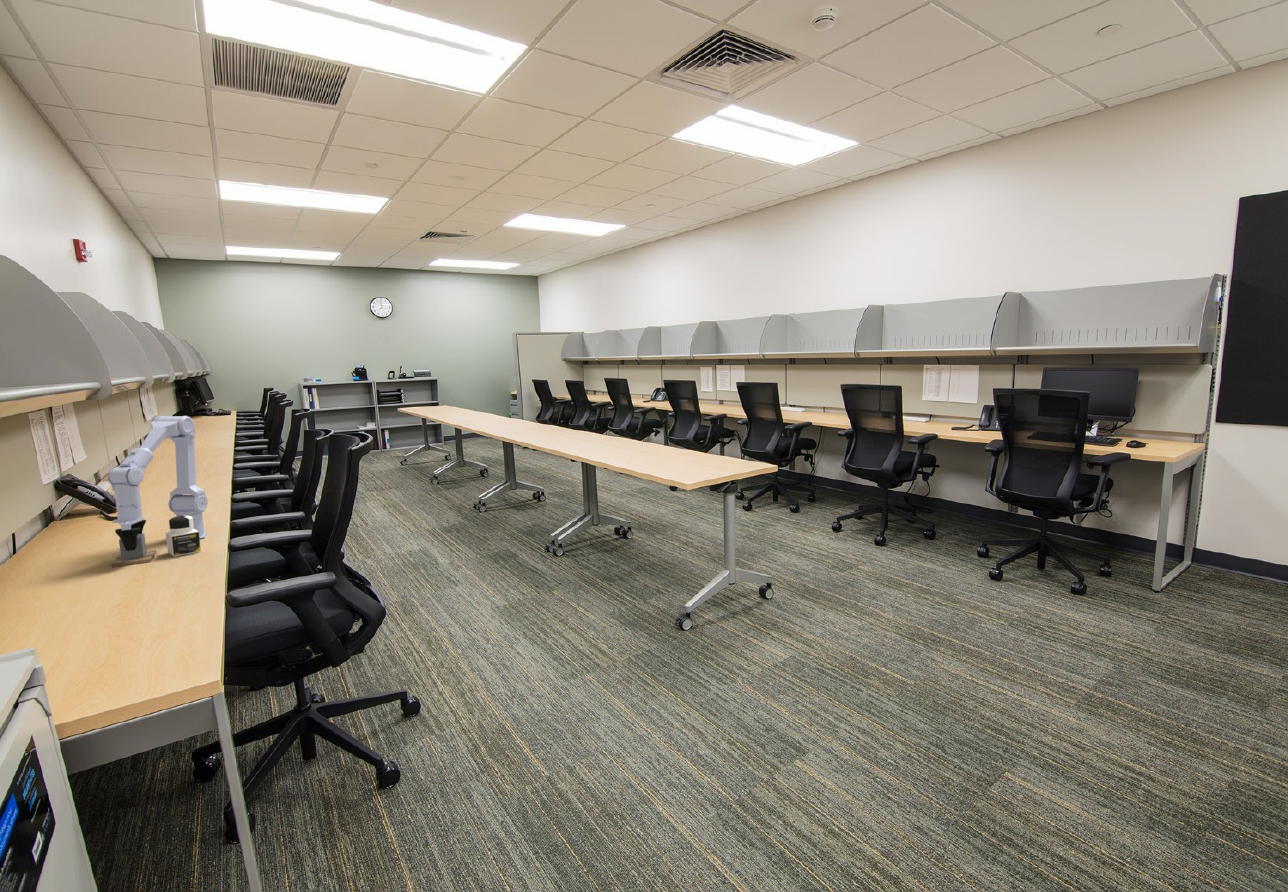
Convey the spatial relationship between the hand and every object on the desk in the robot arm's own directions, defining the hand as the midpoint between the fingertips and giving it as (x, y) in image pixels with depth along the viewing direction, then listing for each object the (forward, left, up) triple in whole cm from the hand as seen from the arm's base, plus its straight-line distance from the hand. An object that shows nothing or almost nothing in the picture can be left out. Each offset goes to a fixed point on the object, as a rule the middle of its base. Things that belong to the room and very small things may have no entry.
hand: (133, 546), depth 177 cm
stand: (0, 0, -4) cm, 4 cm away
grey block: (0, 0, -3) cm, 3 cm away
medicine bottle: (-2, +12, -4) cm, 13 cm away
